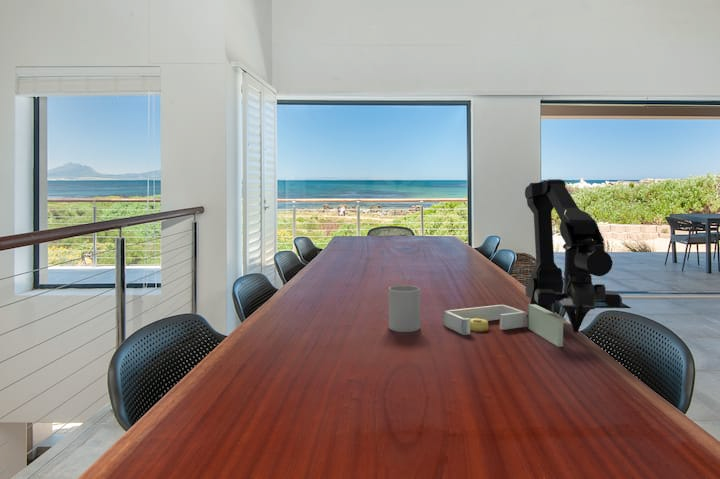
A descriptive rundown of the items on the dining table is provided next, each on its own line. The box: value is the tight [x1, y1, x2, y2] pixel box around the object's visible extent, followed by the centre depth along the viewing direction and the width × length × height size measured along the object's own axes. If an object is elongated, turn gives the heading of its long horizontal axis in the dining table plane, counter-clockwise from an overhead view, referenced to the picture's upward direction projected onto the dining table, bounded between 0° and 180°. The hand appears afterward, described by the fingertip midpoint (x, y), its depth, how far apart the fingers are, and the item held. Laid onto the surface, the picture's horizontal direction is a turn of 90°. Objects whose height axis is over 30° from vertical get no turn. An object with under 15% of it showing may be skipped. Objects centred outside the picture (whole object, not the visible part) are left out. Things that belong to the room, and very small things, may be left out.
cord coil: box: [470, 318, 489, 332], centre depth 125 cm, size 6×6×2 cm
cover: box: [528, 304, 567, 348], centre depth 116 cm, size 15×2×7 cm, turn 6°
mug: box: [388, 284, 421, 333], centre depth 127 cm, size 12×8×11 cm
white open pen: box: [442, 303, 532, 336], centre depth 126 cm, size 20×12×6 cm, turn 110°
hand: (575, 332), depth 113 cm, fingers closed
